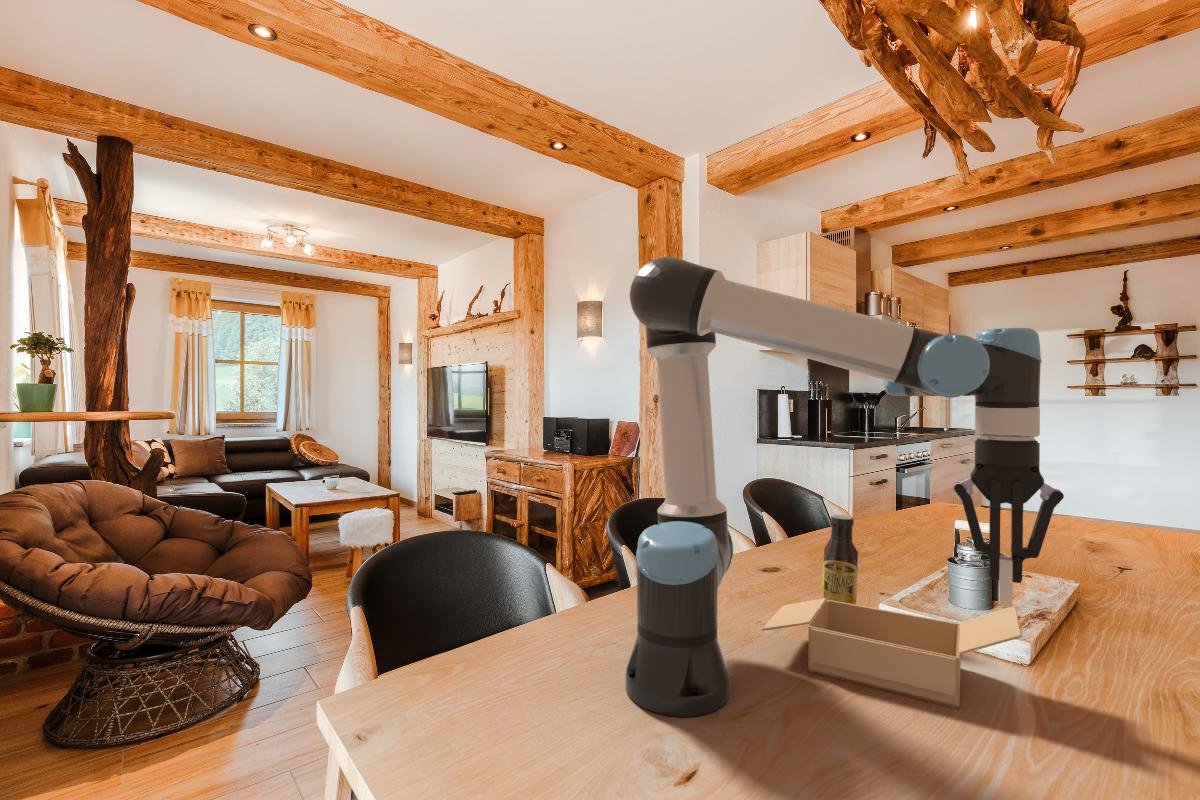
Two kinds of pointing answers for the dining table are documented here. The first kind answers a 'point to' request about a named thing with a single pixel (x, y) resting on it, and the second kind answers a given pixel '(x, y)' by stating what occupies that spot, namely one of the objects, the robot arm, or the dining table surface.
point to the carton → (887, 651)
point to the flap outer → (989, 630)
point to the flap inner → (795, 614)
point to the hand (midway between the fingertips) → (1005, 603)
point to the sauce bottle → (840, 562)
